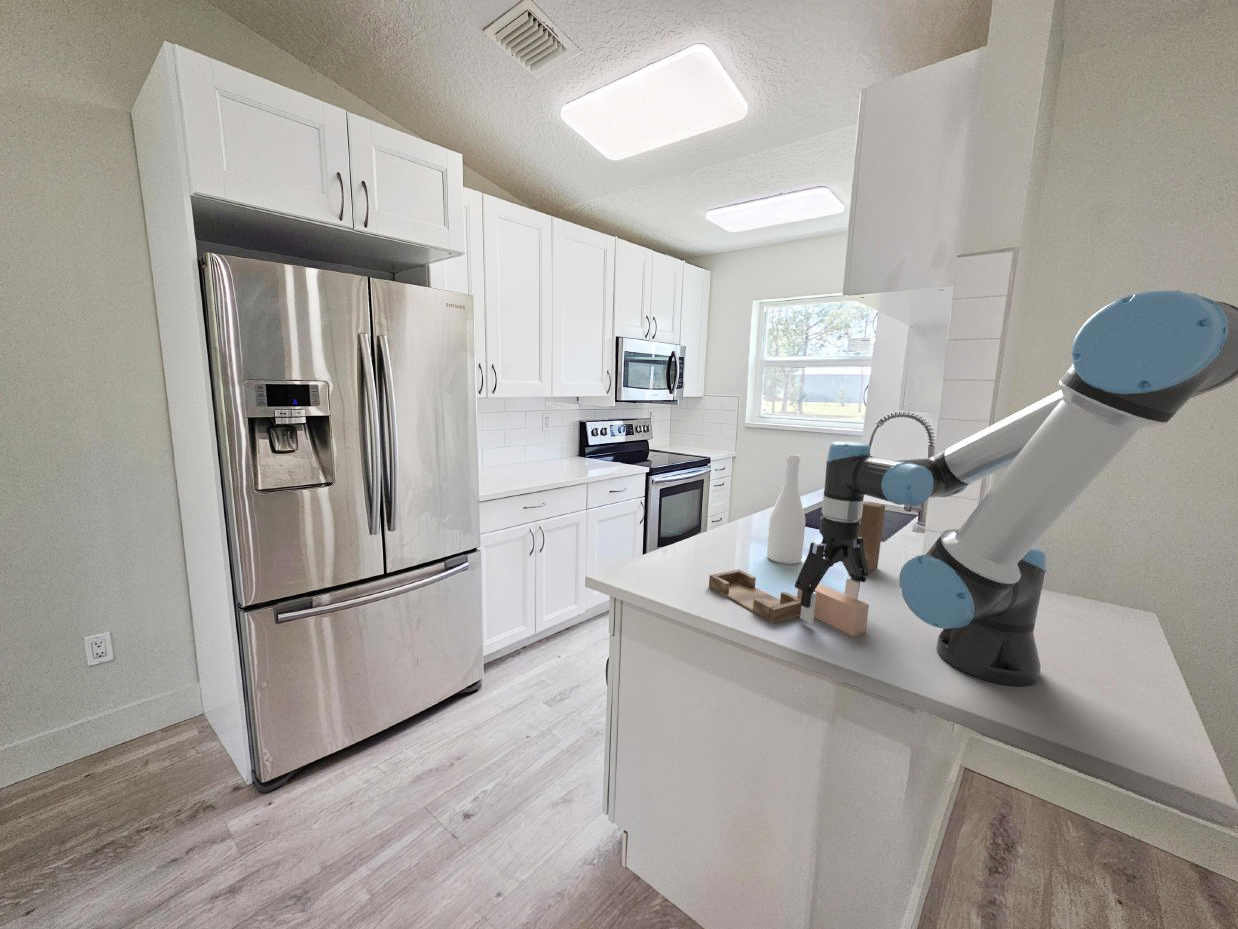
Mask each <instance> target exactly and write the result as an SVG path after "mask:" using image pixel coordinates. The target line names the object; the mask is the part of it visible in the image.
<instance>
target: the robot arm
mask: <svg viewBox="0 0 1238 929" xmlns="http://www.w3.org/2000/svg"><path fill="white" fill-rule="evenodd" d="M1071 356H1072V363H1071V365H1070V366H1069V367H1068V369H1067V370H1066V372H1064V374H1063V375H1062V377H1061V378H1060V379H1059V381H1058V383H1059V387H1060V390H1058V391H1056V392H1054V393H1052V394H1051V395H1048V396H1046V397H1044V398H1042V399H1041V400H1038V401H1037V402H1035V403H1033V404H1031V405H1028V406H1027V407H1025V408H1023V409H1021V410H1019V411H1017V412H1015V413H1013V414H1012V415H1009V416H1007V417H1006V418H1004V419H1001V420H1000V421H998V422H996V423H994V424H992V425H990V426H988V427H986V428H985V429H982V430H980V431H978V432H976V433H975V434H973V435H970V436H968V437H967V438H965V439H963V440H961V441H959V442H957V443H955V444H953V445H952V446H950V447H948V448H946V449H944V450H942V451H940V452H938V453H935V455H933V456H930V457H928V458H917V459H916V458H915V459H897V460H896V459H887V458H881V457H875V456H872V455H871V447H870V445H869V444H866V443H861V442H854V441H841V440H840V441H834V442H832V443H831V444H830V445H829V449H828V455H827V460H826V462H825V463H826V468H825V480H824V481H825V482H824V489H823V498H822V505H821V506H822V507H821V514H823V515H822V516H820V520H819V527H818V528H819V529H818V530H819V531H818V532H819V533H820V535H821V536H822V541H821V543H817V542H814V541H812V542H811V543H810V544H809V550H808V554H807V556H806V558H805V560H804V563H803V564H802V567H801V569H800V572H799V574H798V576H797V579H796V580H795V583H794V588H796V589H797V590H798V589H800V590H802V596H801V605H802V606H801V615H800V616H799V617H800V618H799V619H801V620H802V621H804V622H807V623H808V624H810V625H812V624H814V621H815V617H814V613H815V604H816V596H817V593H815V592H814V591H815V589H816V587H817V586H818V584H821V581H822V580H823V578H824V577H825V575H826V573H828V570H829V569H830V568H831V567H833V566H834V565H835V564H837V563H839V562H841V563H842V564H843V566H844V568H845V570H846V571H847V574H848V576H849V577H846V580H845V589H844V594H845V595H847V596H850V597H852V598H854V599H857V600H859V599H858V597H859V593H860V588H861V583H866V581H867V577H868V576H869V574H870V573H869V572H868V567H867V563H866V558H865V553H864V549H863V544H864V539H863V538H861V537H859V531H860V524H861V523H860V521H861V518H862V509H863V504H864V501H865V500H864V499H865V496H869V497H872V498H875V499H879V500H883V501H886V502H889V503H892V504H894V505H898V506H908V507H911V508H912V507H914V508H915V507H919V506H922V505H923V503H924V502H927V501H928V500H929V499H931V498H946V497H950V496H953V495H957V494H959V493H962V492H964V490H965V489H966V488H967V487H968V486H969V485H971V484H973V483H975V482H977V481H980V480H982V479H984V478H986V477H989V476H991V475H993V474H996V473H998V472H1001V471H1003V470H1004V472H1003V473H1002V474H1001V476H1000V477H999V478H998V480H997V481H996V482H995V483H994V484H993V486H992V487H991V488H990V490H989V491H988V492H987V493H986V495H985V496H984V497H983V498H982V500H981V501H980V503H979V504H978V505H977V506H976V507H975V509H974V510H973V511H972V513H971V514H970V515H969V516H968V518H967V519H966V521H964V522H963V524H962V525H961V527H960V528H952V529H951V528H950V529H946V530H944V531H943V532H942V533H941V534H940V536H939V537H938V538H937V539H936V541H935V542H934V543H933V544H932V546H931V547H930V549H929V550H928V551H927V552H926V553H925V554H919V555H915V557H913V558H911V559H909V560H907V561H906V563H904V565H903V566H902V568H901V570H900V572H899V577H898V578H899V580H898V581H899V582H898V583H899V589H900V590H901V592H902V593H901V596H902V598H903V601H904V602H905V604H906V605H907V607H908V608H909V610H910V611H911V612H912V613H913V614H914V615H915V616H916V617H917V618H918V619H919V620H921V621H923V622H924V623H926V624H928V625H929V626H932V627H934V628H938V629H942V630H941V631H940V633H939V635H938V636H937V641H936V651H937V654H938V655H939V657H940V658H942V660H944V661H945V662H946V663H948V664H949V665H950V666H953V667H954V668H956V669H958V670H960V671H961V672H963V673H966V674H969V675H970V676H973V677H975V678H978V679H982V680H984V681H987V682H991V683H996V684H1000V685H1007V686H1014V687H1016V686H1017V687H1023V686H1031V685H1034V684H1036V683H1037V682H1039V679H1040V673H1041V661H1040V660H1041V659H1040V656H1039V653H1038V652H1039V651H1038V649H1037V644H1036V639H1035V635H1034V632H1035V626H1036V620H1037V615H1038V611H1039V610H1038V609H1039V605H1040V599H1041V595H1042V594H1041V593H1042V589H1043V585H1044V580H1045V579H1044V578H1045V573H1047V568H1046V564H1047V555H1046V553H1045V552H1044V550H1042V549H1040V547H1037V546H1035V545H1036V544H1037V543H1038V542H1039V541H1040V539H1041V538H1042V537H1043V536H1044V535H1045V534H1046V533H1047V532H1048V531H1049V530H1050V528H1052V526H1053V525H1054V524H1055V523H1056V522H1057V521H1058V520H1059V518H1061V517H1062V515H1064V514H1065V512H1066V511H1067V510H1068V509H1069V508H1070V507H1071V506H1072V505H1073V504H1074V502H1075V501H1076V500H1077V499H1079V497H1080V496H1081V495H1082V494H1083V492H1084V491H1085V490H1087V488H1088V487H1090V485H1091V483H1093V481H1095V479H1096V478H1098V476H1099V475H1100V474H1101V473H1102V472H1103V471H1104V470H1105V468H1106V467H1107V466H1108V465H1109V464H1110V463H1111V462H1112V461H1113V460H1114V459H1115V458H1116V456H1117V455H1118V454H1119V453H1120V452H1121V451H1122V450H1123V449H1124V448H1125V446H1126V445H1127V444H1128V443H1129V442H1130V441H1131V440H1132V439H1133V438H1134V436H1136V434H1137V433H1139V431H1141V430H1144V429H1149V428H1153V427H1159V426H1162V425H1166V424H1167V423H1168V422H1169V421H1170V420H1171V419H1172V418H1173V417H1174V416H1175V415H1176V414H1177V413H1178V412H1179V411H1180V409H1181V408H1182V407H1184V405H1185V404H1186V403H1187V402H1189V400H1190V399H1191V398H1192V399H1193V398H1194V397H1197V396H1201V395H1202V394H1205V393H1209V392H1211V391H1215V390H1217V389H1219V388H1222V387H1224V386H1226V385H1227V384H1230V383H1232V382H1233V381H1235V380H1237V378H1238V307H1237V306H1236V305H1232V304H1229V303H1227V302H1223V301H1217V300H1214V299H1211V298H1208V297H1205V296H1202V295H1199V294H1197V293H1192V292H1185V291H1180V290H1153V291H1152V290H1150V291H1143V292H1138V293H1134V294H1131V295H1128V296H1124V297H1121V298H1120V299H1117V300H1115V301H1113V302H1111V303H1109V304H1107V305H1105V306H1104V307H1102V308H1101V309H1099V310H1098V311H1096V312H1095V313H1094V314H1092V316H1090V317H1089V318H1088V319H1087V320H1086V322H1084V324H1083V325H1082V326H1081V328H1080V329H1079V330H1078V331H1077V334H1076V335H1075V338H1074V339H1073V343H1072V347H1071ZM860 568H861V569H860ZM810 585H811V586H810Z"/></svg>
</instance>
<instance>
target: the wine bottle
mask: <svg viewBox="0 0 1238 929" xmlns="http://www.w3.org/2000/svg"><path fill="white" fill-rule="evenodd" d="M785 462H786V466H785V476H784V483H783V486H782V489H781V491H780V493H779V495H778V498H777V500H776V502H775V504H774V505H773V506H774V507H773V509H772V511H771V512H770V517H769V522H768V523H769V525H768V537H767V547H766V556H767V558H768V559H769V560H771V561H773V562H776V563H778V564H785V565H794V564H799V563H801V561H802V559H803V550H804V541H805V533H806V532H805V530H806V521H807V520H806V516H805V512H804V507H803V504H802V499H801V496H800V495H801V494H800V492H799V485H798V482H799V481H798V480H799V466H800V463H801V456H800V454H796V453H788V454H787V455H786V460H785Z"/></svg>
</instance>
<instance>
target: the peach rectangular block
mask: <svg viewBox="0 0 1238 929" xmlns="http://www.w3.org/2000/svg"><path fill="white" fill-rule="evenodd" d="M810 586H811V585H810ZM814 592H815V593H817V596H816V604H815V613H814V619H818V620H819V621H821V622H823V623H826V624H828V625H829V626H831V627H834V628H836V629H838V630H840V631H842V632H843V633H846V634H848V635H850V636H852V637H855V636H858V635H861V634H864V633H866V632H867V624H868V616H869V615H868V614H869V608H870V605H869V604H868V603H866V602H863V601H861V600H859V599H858V600H857V599H854V598H852V597H850V596H847V595H845V593H842V592H840V591H838V590H836V589H832V588H831V587H829V586H826V585H823V584H821V583H819V584H818V586H817V587H816V589H815V591H814ZM801 596H802V590H800V589H798V588H797V596H796V597H797V598H799V599H801Z"/></svg>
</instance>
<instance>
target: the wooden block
mask: <svg viewBox="0 0 1238 929" xmlns="http://www.w3.org/2000/svg"><path fill="white" fill-rule="evenodd" d="M885 511H886V505H885V504H883V503H877V502H872V501H868V502H865V503H864V502H863V509H862V518H861V519H860V520H859V521H860V523H861V524H860V531H859V537H861V538H863V539H864V544H863V549H864V553H865V558H866V563H867V567H868V572H869V574H870V573H871V572H873V571H875V570H876V569H877V568H878V567H879V566H878V564H879V560H880V558H879V557H880V550H881V542H882V534H883V527H884V526H883V525H884V518H885ZM860 569H861V568H860Z"/></svg>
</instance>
